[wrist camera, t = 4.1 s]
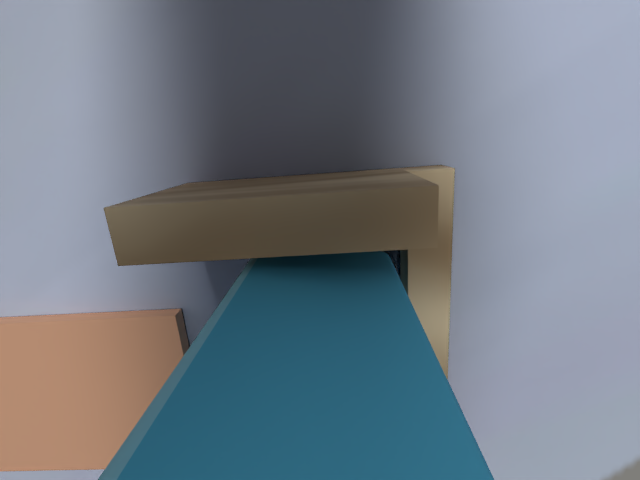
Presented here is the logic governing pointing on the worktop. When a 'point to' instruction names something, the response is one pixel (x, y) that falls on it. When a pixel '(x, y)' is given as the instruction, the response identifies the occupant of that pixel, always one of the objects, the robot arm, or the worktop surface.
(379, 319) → the blue flat block
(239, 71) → the worktop surface
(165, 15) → the worktop surface
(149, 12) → the worktop surface
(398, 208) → the oak rack
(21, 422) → the terracotta pad
